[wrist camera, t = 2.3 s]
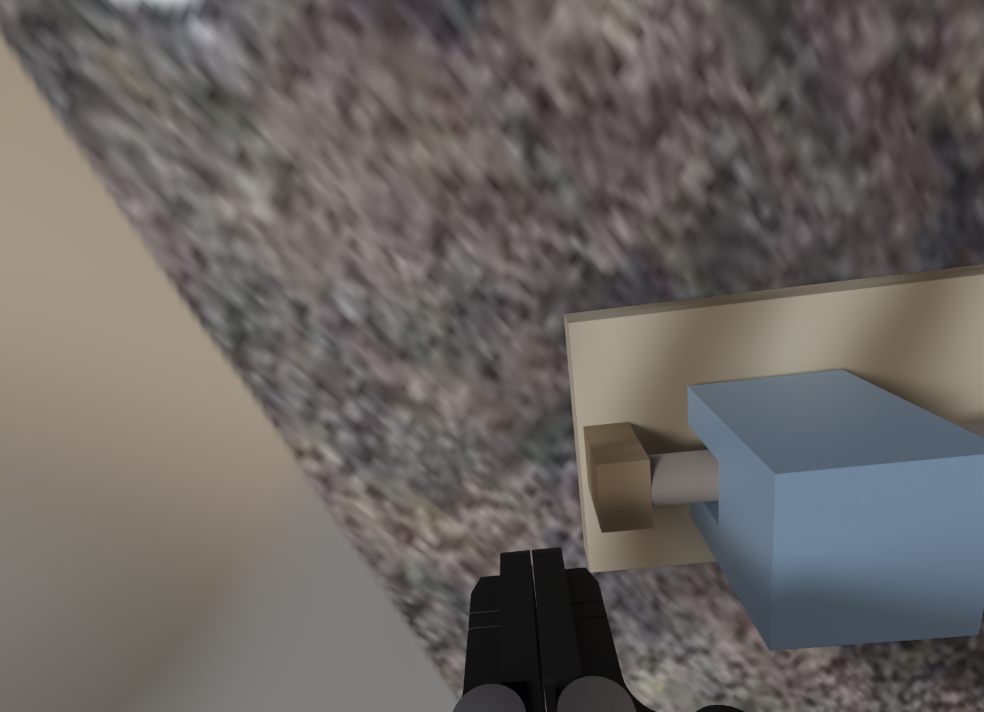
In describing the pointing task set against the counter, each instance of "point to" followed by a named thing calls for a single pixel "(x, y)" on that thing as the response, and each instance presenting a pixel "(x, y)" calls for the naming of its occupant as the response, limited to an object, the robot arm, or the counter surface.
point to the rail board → (742, 356)
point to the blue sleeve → (842, 510)
